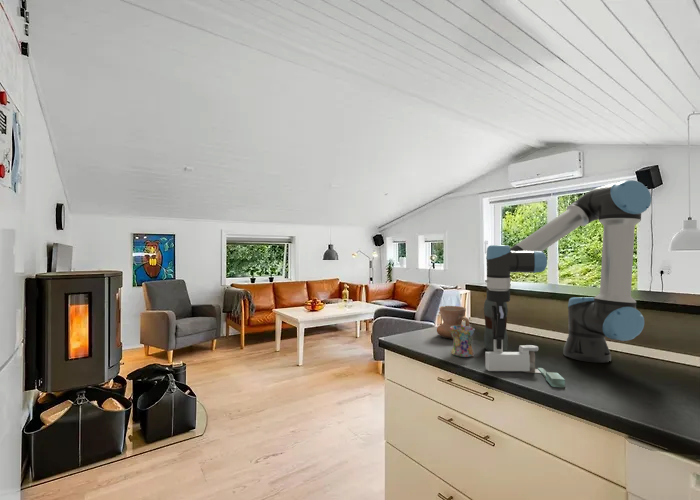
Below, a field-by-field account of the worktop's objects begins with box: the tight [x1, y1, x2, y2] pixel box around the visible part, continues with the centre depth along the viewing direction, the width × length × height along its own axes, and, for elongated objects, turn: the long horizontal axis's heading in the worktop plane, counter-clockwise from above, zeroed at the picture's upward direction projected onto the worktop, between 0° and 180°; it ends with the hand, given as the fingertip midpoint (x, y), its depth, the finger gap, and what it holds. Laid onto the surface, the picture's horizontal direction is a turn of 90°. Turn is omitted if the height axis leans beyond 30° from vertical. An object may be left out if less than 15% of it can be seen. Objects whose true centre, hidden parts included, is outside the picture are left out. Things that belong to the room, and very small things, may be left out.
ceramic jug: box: [436, 305, 470, 340], centre depth 166 cm, size 18×14×14 cm
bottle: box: [483, 297, 509, 352], centre depth 146 cm, size 9×9×30 cm
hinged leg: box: [484, 344, 539, 372], centre depth 119 cm, size 17×4×8 cm, turn 89°
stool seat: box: [524, 351, 566, 388], centre depth 119 cm, size 16×28×7 cm, turn 167°
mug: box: [450, 325, 476, 358], centre depth 138 cm, size 12×9×11 cm
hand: (498, 357), depth 121 cm, fingers closed
